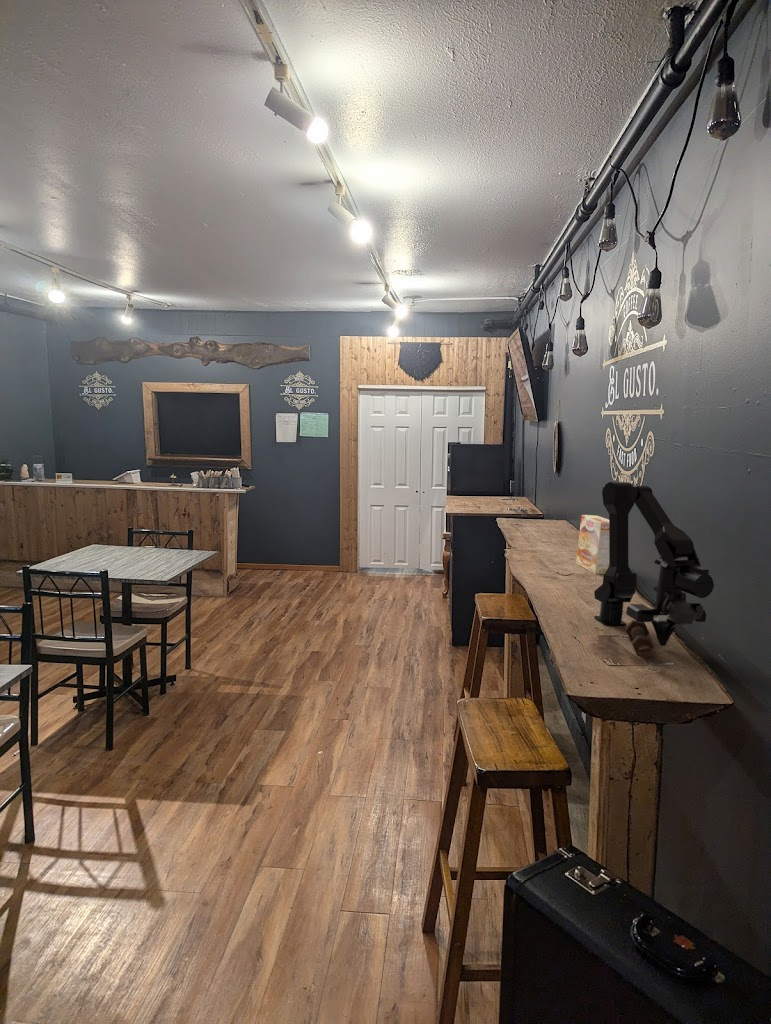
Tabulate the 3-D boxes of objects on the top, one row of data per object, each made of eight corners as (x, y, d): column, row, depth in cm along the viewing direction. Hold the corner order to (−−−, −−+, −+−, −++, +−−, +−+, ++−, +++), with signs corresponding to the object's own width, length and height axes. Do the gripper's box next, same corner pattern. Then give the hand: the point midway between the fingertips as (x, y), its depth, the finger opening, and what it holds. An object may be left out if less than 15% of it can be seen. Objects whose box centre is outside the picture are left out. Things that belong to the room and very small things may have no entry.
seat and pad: (571, 635, 163) (571, 635, 163) (631, 635, 166) (631, 635, 166) (608, 665, 145) (608, 665, 145) (674, 664, 148) (674, 664, 148)
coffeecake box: (575, 563, 243) (580, 514, 240) (592, 564, 245) (597, 515, 241) (594, 574, 229) (600, 522, 225) (612, 574, 230) (618, 522, 227)
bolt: (639, 666, 150) (631, 642, 164) (660, 659, 148) (651, 636, 162) (629, 644, 149) (622, 623, 164) (650, 637, 148) (641, 616, 162)
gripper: (655, 595, 145) (646, 658, 148) (726, 595, 148) (716, 657, 151) (629, 581, 156) (621, 641, 158) (696, 582, 159) (687, 640, 162)
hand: (662, 645), depth 157 cm, fingers closed
